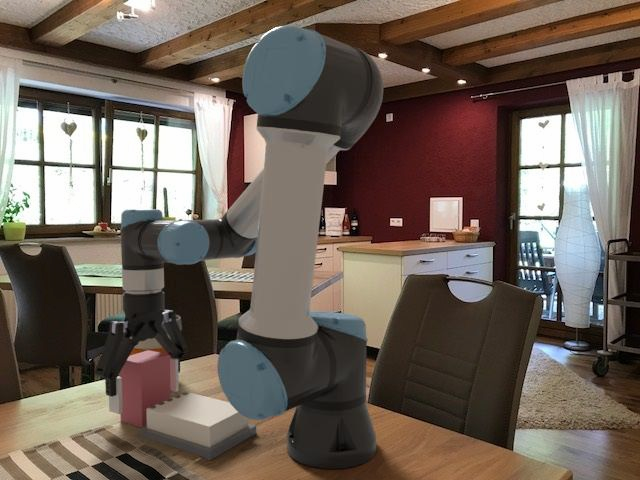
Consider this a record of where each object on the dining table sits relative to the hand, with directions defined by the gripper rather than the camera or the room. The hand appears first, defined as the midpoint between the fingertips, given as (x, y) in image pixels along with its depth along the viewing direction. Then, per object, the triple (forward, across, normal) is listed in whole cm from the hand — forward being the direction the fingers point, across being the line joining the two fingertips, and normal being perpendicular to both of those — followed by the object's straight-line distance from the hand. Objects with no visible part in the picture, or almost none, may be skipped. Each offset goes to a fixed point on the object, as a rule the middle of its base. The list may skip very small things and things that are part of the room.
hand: (145, 400), depth 103 cm
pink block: (+3, 0, 0) cm, 3 cm away
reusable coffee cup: (+4, -16, -16) cm, 23 cm away
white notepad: (+4, 0, +14) cm, 14 cm away
